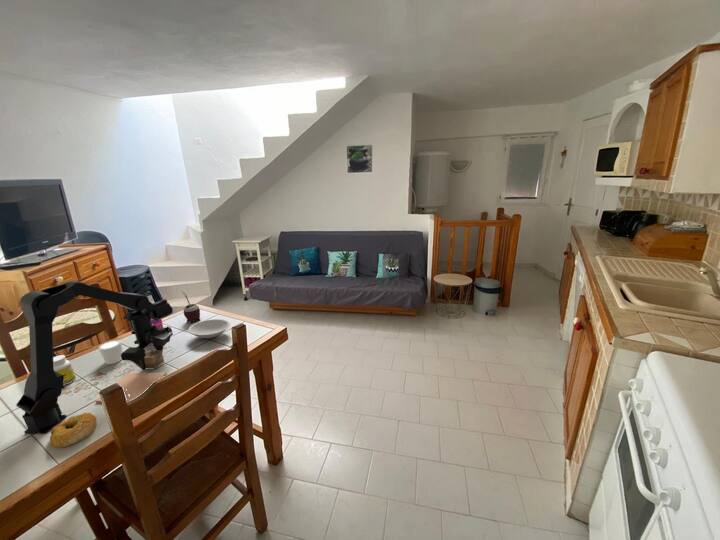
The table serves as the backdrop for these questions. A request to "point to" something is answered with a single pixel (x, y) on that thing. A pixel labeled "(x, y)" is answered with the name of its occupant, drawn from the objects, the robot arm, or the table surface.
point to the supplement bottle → (64, 368)
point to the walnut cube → (153, 358)
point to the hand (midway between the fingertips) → (152, 362)
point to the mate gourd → (191, 311)
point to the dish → (209, 328)
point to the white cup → (111, 351)
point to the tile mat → (136, 383)
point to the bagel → (73, 430)
